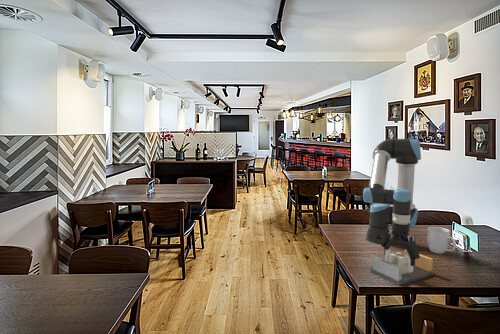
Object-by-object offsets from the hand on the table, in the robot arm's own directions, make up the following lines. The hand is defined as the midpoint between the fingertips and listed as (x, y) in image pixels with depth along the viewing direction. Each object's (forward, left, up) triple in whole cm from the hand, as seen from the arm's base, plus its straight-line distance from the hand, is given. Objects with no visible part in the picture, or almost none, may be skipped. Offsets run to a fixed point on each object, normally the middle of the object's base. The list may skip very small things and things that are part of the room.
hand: (398, 266), depth 152 cm
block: (0, 0, -2) cm, 2 cm away
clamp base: (0, +3, -4) cm, 5 cm away
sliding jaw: (0, +14, -2) cm, 14 cm away
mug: (-9, +46, -4) cm, 47 cm away
